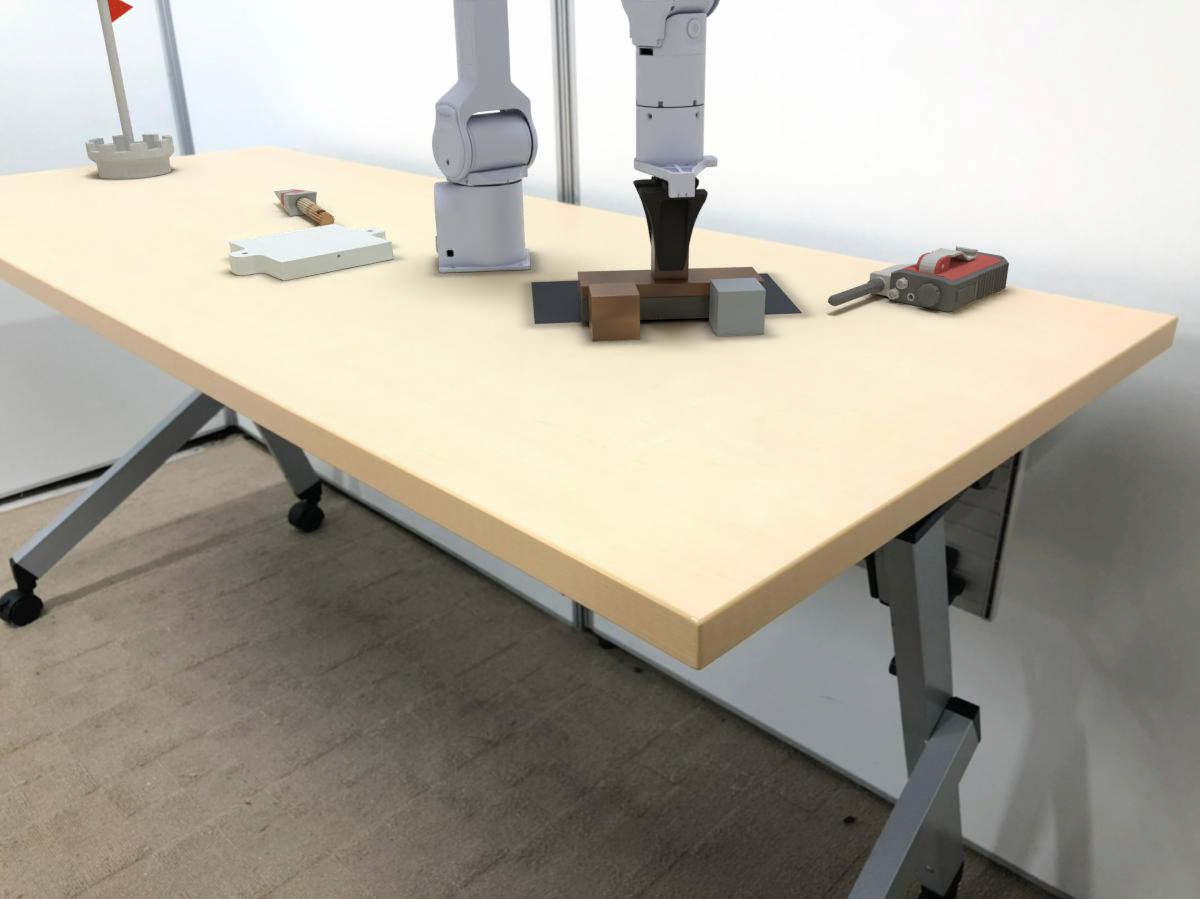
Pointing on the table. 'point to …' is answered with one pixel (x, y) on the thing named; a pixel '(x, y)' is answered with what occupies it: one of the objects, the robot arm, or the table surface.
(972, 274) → the walkie-talkie
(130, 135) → the flag stand
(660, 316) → the board eraser
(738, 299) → the block slate
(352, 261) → the mounting plate
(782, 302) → the mat
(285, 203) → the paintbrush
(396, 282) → the table surface
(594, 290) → the block brown
